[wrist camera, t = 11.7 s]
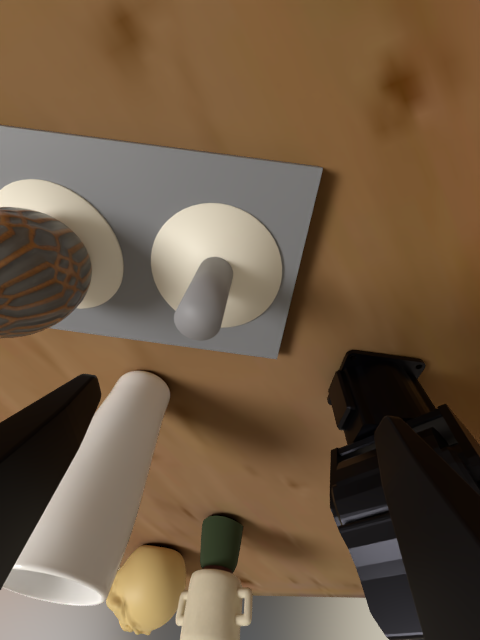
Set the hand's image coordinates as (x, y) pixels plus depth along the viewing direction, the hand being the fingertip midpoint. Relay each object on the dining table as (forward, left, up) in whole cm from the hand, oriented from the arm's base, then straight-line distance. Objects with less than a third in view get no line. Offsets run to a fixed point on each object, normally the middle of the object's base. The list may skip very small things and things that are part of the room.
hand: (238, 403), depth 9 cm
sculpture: (+10, +60, -13) cm, 62 cm away
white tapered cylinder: (+9, +15, -13) cm, 22 cm away
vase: (+13, +1, -12) cm, 18 cm away
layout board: (+8, +1, -13) cm, 15 cm away
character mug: (-1, +43, -13) cm, 45 cm away
